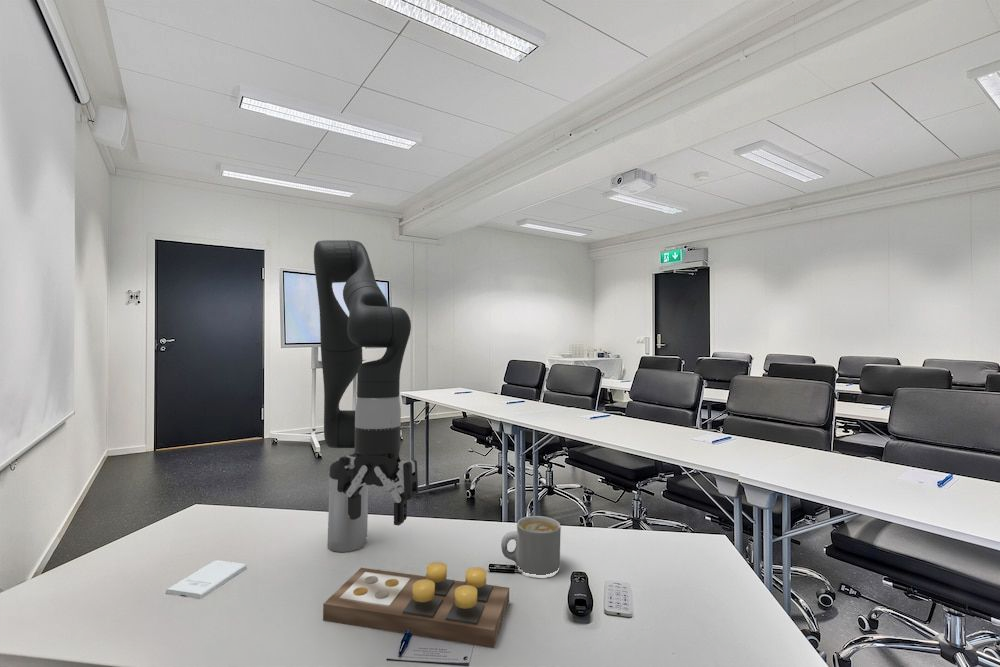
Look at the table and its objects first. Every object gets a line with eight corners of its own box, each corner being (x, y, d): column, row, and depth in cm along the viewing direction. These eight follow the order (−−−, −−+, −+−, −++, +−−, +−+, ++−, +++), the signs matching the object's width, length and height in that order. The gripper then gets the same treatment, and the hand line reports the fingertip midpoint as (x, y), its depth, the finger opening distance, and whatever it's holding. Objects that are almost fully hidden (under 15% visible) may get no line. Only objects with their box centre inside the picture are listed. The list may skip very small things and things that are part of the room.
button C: (468, 576, 94) (468, 566, 94) (488, 578, 93) (488, 568, 93) (462, 586, 90) (463, 575, 90) (483, 589, 89) (483, 578, 89)
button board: (360, 581, 100) (361, 565, 100) (509, 602, 94) (509, 585, 94) (322, 620, 86) (323, 601, 86) (493, 648, 80) (494, 627, 80)
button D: (458, 594, 87) (458, 583, 87) (479, 597, 86) (479, 586, 86) (451, 606, 83) (452, 595, 83) (473, 610, 82) (474, 598, 82)
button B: (417, 588, 89) (417, 578, 89) (437, 591, 88) (437, 580, 88) (409, 600, 85) (409, 589, 85) (430, 603, 84) (430, 592, 84)
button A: (430, 571, 95) (430, 561, 95) (449, 573, 95) (449, 563, 95) (423, 580, 92) (423, 570, 92) (442, 583, 91) (443, 573, 91)
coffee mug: (558, 558, 113) (559, 516, 113) (561, 580, 103) (562, 534, 103) (502, 555, 114) (503, 514, 114) (499, 576, 104) (500, 531, 104)
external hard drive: (246, 571, 105) (200, 601, 92) (214, 566, 106) (165, 596, 94) (246, 563, 105) (201, 593, 92) (214, 559, 106) (165, 588, 94)
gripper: (426, 422, 81) (425, 518, 81) (356, 419, 86) (354, 509, 85) (403, 429, 74) (402, 534, 73) (328, 424, 79) (326, 523, 78)
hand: (376, 521), depth 79 cm, fingers open, 8 cm apart
